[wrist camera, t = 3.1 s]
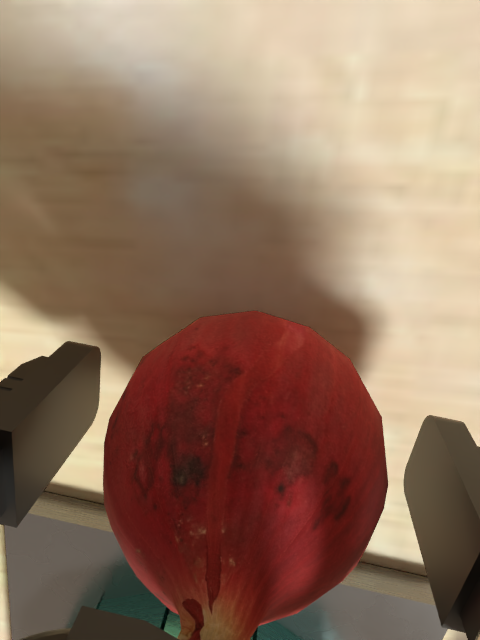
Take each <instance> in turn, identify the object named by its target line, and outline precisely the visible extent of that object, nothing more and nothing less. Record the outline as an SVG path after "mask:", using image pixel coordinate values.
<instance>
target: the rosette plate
mask: <svg viewBox="0 0 480 640" xmlns="http://www.w3.org/2000/svg"><path fill="white" fill-rule="evenodd" d="M4 528H5V543H6V558H7V573H8V588H9V603H10V618H11V633H12V640H20V639H22V638H25V637H27V636H31V635H34V634H38V633H41V632H45V631H51V630H57V629H65V628H72V626H73V624H74V622H75V620H76V617H77V615H78V613H79V611H80V609H81V607H82V606H86V607H90V608H94V609H99V610H103V611H107V612H111V613H115V614H120V615H124V616H128V617H132V618H136V619H141V620H145V621H147V622H149V623H151V624H152V625H154V626H156V627H158V628H159V629H161V630H163V631H165V632H167V633H168V634H170V635H172V636H174V637H176V638H178V636H179V633H180V631H181V623H180V616H179V615H178V614H176V613H174V612H172V611H171V610H170V609H169V608H167V607H166V606H165V605H164V604H163V603H162V602H161V601H160V600H159V599H158V598H157V597H156V596H155V595H154V594H153V593H152V592H151V591H149V589H148V588H147V587H146V586H145V585H144V584H143V583H142V582H141V581H140V580H139V579H138V577H137V576H136V574H135V573H134V571H133V570H132V568H131V566H130V565H129V563H128V562H127V560H126V557H125V555H124V553H123V551H122V549H121V547H120V545H119V543H118V541H117V539H116V537H115V535H114V532H113V530H112V528H111V526H110V522H109V519H108V516H107V512H106V509H105V506H104V505H102V504H98V503H93V502H89V501H84V500H80V499H75V498H71V497H66V496H62V495H57V494H53V493H48V492H44V491H43V492H42V494H41V495H40V496H39V498H38V499H37V501H36V502H35V503H34V505H33V506H32V507H31V509H30V510H29V512H28V513H27V514H26V516H25V517H24V519H23V520H22V521H21V523H20V524H19V525H18V527H17V528H15V527H11V526H7V525H4ZM446 631H447V628H443V627H442V626H441V623H440V619H439V616H438V612H437V608H436V605H435V601H434V598H433V594H432V590H431V587H430V583H429V580H428V577H424V576H420V575H415V574H411V573H406V572H402V571H397V570H393V569H388V568H384V567H379V566H375V565H371V564H366V563H362V562H358V564H357V566H356V567H355V568H354V569H353V570H352V571H351V572H350V573H349V575H348V576H347V577H346V578H345V579H344V580H343V581H342V582H341V583H339V584H338V585H337V586H335V587H334V588H332V589H331V590H330V591H328V592H327V593H325V594H324V595H323V596H321V597H320V598H318V599H317V600H316V601H314V602H313V603H311V604H310V605H309V606H307V607H306V608H304V609H303V610H301V611H300V612H298V613H297V614H294V615H291V616H288V617H284V618H281V619H278V620H275V621H272V622H269V623H266V624H263V625H260V626H258V627H257V629H256V630H255V632H254V633H253V635H252V636H251V638H250V640H442V639H443V637H444V635H445V633H446Z"/></svg>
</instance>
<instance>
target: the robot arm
mask: <svg viewBox="0 0 480 640" xmlns="http://www.w3.org/2000/svg"><path fill="white" fill-rule="evenodd" d="M100 367H101V352H100V349H99V348H98V347H96V346H91V345H86V344H81V343H76V342H71V341H67V342H65V343H64V344H63V345H62V346H61V347H60V348H59V349H57V350H56V351H55V352H54V353H53V354H52V355H51V356H49V357H45V356H41V357H38V358H36V359H33V360H31V361H28V362H26V363H23V364H21V365H20V366H19V367H18V368H17V369H15V370H14V371H13V372H12V373H10V374H9V375H8V377H7V378H4V379H3V380H2V381H1V382H0V524H2V525H7V526H11V527H15V528H17V527H18V525H19V524H20V523H21V521H22V520H23V519H24V517H25V516H26V514H27V513H28V512H29V510H30V509H31V507H32V506H33V505H34V503H35V502H36V501H37V499H38V498H39V496H40V495H41V494H42V492H43V491H44V490H45V488H46V487H47V485H48V484H49V483H50V481H51V480H52V479H53V477H54V476H55V474H56V473H57V472H58V470H59V469H60V468H61V466H62V465H63V463H64V462H65V461H66V459H67V458H68V457H69V455H70V454H71V452H72V451H73V450H74V448H75V447H76V446H77V444H78V443H79V441H80V440H81V439H82V437H83V436H84V435H85V433H86V432H87V430H88V429H89V428H90V426H91V425H92V423H93V421H94V419H95V416H96V413H97V410H98V405H99V392H100ZM404 492H405V496H406V500H407V504H408V507H409V511H410V515H411V518H412V522H413V525H414V529H415V533H416V536H417V540H418V543H419V547H420V551H421V554H422V558H423V561H424V565H425V569H426V572H427V576H428V580H429V583H430V587H431V590H432V594H433V598H434V601H435V605H436V608H437V612H438V616H439V619H440V623H441V626H442V627H443V628H447V629H451V630H456V631H460V632H464V633H466V635H467V638H468V640H480V447H478V446H477V445H476V443H475V442H474V440H473V438H472V436H471V434H470V433H469V431H468V429H467V427H466V425H465V424H464V423H463V422H461V421H456V420H452V419H447V418H442V417H437V416H432V415H429V416H427V417H426V418H425V420H424V421H423V424H422V426H421V429H420V431H419V434H418V437H417V439H416V442H415V445H414V447H413V450H412V453H411V455H410V458H409V460H408V463H407V466H406V469H405V474H404ZM20 640H179V639H177V638H176V637H174V636H172V635H170V634H168V633H167V632H165V631H163V630H161V629H159V628H158V627H156V626H154V625H152V624H151V623H149V622H147V621H145V620H141V619H136V618H132V617H128V616H124V615H120V614H115V613H111V612H107V611H103V610H99V609H94V608H90V607H86V606H82V607H81V609H80V611H79V613H78V615H77V617H76V620H75V622H74V624H73V626H72V628H65V629H57V630H51V631H45V632H41V633H38V634H34V635H31V636H27V637H25V638H22V639H20Z"/></svg>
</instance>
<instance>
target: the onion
mask: <svg viewBox="0 0 480 640" xmlns="http://www.w3.org/2000/svg"><path fill="white" fill-rule="evenodd" d="M387 488H388V477H387V467H386V457H385V446H384V436H383V426H382V417H381V415H380V413H379V411H378V410H377V408H376V406H375V404H374V402H373V400H372V399H371V397H370V395H369V393H368V391H367V389H366V387H365V386H364V384H363V382H362V380H361V378H360V376H359V375H358V373H357V371H356V369H355V367H354V366H353V364H352V362H351V360H350V359H349V358H348V357H347V356H345V355H344V354H343V353H342V352H340V351H339V350H338V349H336V348H335V347H334V346H333V345H331V344H330V343H329V342H328V341H326V340H325V339H324V338H323V337H321V336H320V335H319V334H318V333H316V332H315V331H314V330H312V329H311V328H310V327H307V326H304V325H301V324H298V323H294V322H291V321H288V320H285V319H282V318H278V317H275V316H272V315H269V314H265V313H262V312H259V311H248V312H240V313H232V314H224V315H215V316H207V317H201V318H199V319H198V320H196V321H195V322H193V323H192V324H190V325H189V326H187V327H186V328H184V329H183V330H181V331H180V332H178V333H177V334H175V335H174V336H172V337H171V338H169V339H168V340H166V341H165V342H163V343H162V344H160V345H159V346H157V347H156V348H155V349H153V350H152V351H150V352H149V353H148V354H146V355H145V356H143V357H142V359H141V361H140V363H139V365H138V367H137V368H136V370H135V372H134V374H133V376H132V378H131V379H130V381H129V383H128V385H127V387H126V389H125V391H124V392H123V394H122V396H121V398H120V400H119V402H118V404H117V405H116V407H115V409H114V411H113V413H112V415H111V417H110V419H109V423H108V428H107V433H106V437H105V442H104V472H103V490H104V506H105V509H106V512H107V516H108V519H109V522H110V526H111V528H112V530H113V532H114V535H115V537H116V539H117V541H118V543H119V545H120V547H121V549H122V551H123V553H124V555H125V557H126V560H127V562H128V563H129V565H130V566H131V568H132V570H133V571H134V573H135V574H136V576H137V577H138V579H139V580H140V581H141V582H142V583H143V584H144V585H145V586H146V587H147V588H148V589H149V591H151V592H152V593H153V594H154V595H155V596H156V597H157V598H158V599H159V600H160V601H161V602H162V603H163V604H164V605H165V606H166V607H167V608H169V609H170V610H171V611H172V612H174V613H176V614H178V615H179V616H180V623H181V631H180V633H179V636H178V638H177V639H179V640H250V638H251V636H252V635H253V633H254V632H255V630H256V629H257V627H258V626H260V625H263V624H266V623H269V622H272V621H275V620H278V619H281V618H284V617H288V616H291V615H294V614H297V613H298V612H300V611H301V610H303V609H304V608H306V607H307V606H309V605H310V604H311V603H313V602H314V601H316V600H317V599H318V598H320V597H321V596H323V595H324V594H325V593H327V592H328V591H330V590H331V589H332V588H334V587H335V586H337V585H338V584H339V583H341V582H342V581H343V580H344V579H345V578H346V577H347V576H348V575H349V573H350V572H351V571H352V570H353V569H354V568H355V567H356V566H357V564H358V562H359V560H360V558H361V557H362V555H363V553H364V551H365V549H366V547H367V545H368V543H369V541H370V539H371V536H372V534H373V532H374V530H375V527H376V525H377V523H378V520H379V518H380V516H381V514H382V511H383V509H384V504H385V499H386V493H387Z"/></svg>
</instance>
